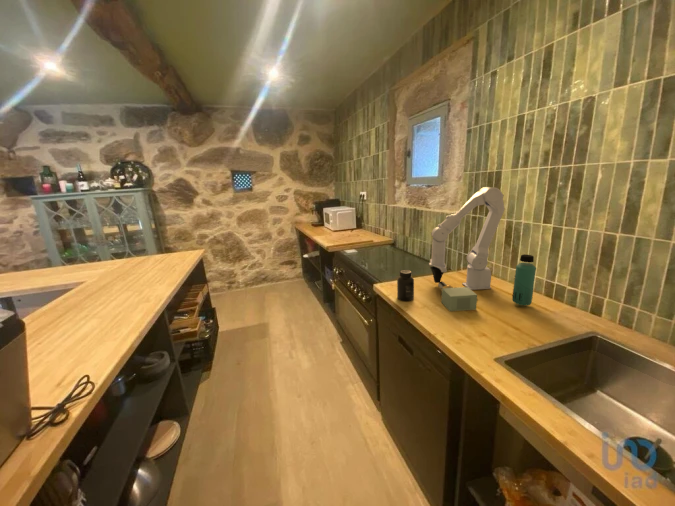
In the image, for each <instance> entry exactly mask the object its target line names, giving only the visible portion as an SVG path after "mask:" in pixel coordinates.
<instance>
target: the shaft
mask: <svg viewBox="0 0 675 506" xmlns="http://www.w3.org/2000/svg"><path fill="white" fill-rule="evenodd" d="M437 287H438V288H440V289H441V290H442V288H454V287H453V286H452V285H451V284H446V282H444V281H440V282H439V283H438V284H437Z"/></svg>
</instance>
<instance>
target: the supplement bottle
mask: <svg viewBox="0 0 675 506" xmlns="http://www.w3.org/2000/svg"><path fill="white" fill-rule="evenodd" d="M412 273H413V272H412V271H411V270H409V269H403V270H402V269H400V270H399V277H398V278H397V279H396V280H397V281H396V283H397V284H396V286H397V287H396V291H397V299H398V300H400V301H402V302H410V301H413V300H414V298H415V280H414V278H413V276H412V275H413V274H412Z"/></svg>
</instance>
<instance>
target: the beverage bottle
mask: <svg viewBox="0 0 675 506" xmlns="http://www.w3.org/2000/svg"><path fill="white" fill-rule="evenodd" d="M534 258H535V257H534V255H532V254H521V255H520V259H519V261H520V262H519V263H518V264H516V266H515V273H514V278H513V280H514V282H513V289H512V294H511V299H512V302H513V303H514V304H517V305H520V306H529V305H532V301H533V296H534V284H535V277H536V270H537V267H536V266H535V265H534V264H533V263H534Z"/></svg>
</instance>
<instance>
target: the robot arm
mask: <svg viewBox="0 0 675 506" xmlns="http://www.w3.org/2000/svg"><path fill="white" fill-rule="evenodd" d="M483 205H485V207H486V208H487V210H488V213H487V215H486V218H485V221H484V223H483V225H482V228H481V230H480V233H479V235H478V239H477V240H476V243H475V245H474V246H473V247H472V248H471V250H470V252H468V253H467V255H466V261H467V262H468V263H467V266H466V267H467V268H466V281H465V282H462V285H463V286H464V287H468V288H469V289H470V290H472V291H474V290H475V291H476V290H490V289H492V287H491V282H492V271H491V269H490V268H489V267H487V266H488V257H489V248H490V245H491V244H492V241H493V239H494V236H495V233H496V231H497V229H498V227H499V224H500V222H501V220H502V217H503V215H504V212H505V203H504V194H503V193H502V191H501V189H499V188H498V187H495V186H494V187H493V186H491V187H490V186H483V187H482V188H480V189H479V190H478V191H476V192H475V193H474V194H473V195H472V196H471V197H470V198H469V199H468V200H467V201H466V202H465V204H463V205H462V206H461V207H460V208H459V210H457V211H456V212H455V213H453V214H452V213H451V214H450V215H446V216H445V219H444V220H443V221H442V222H441V223H439V224H437V227H434V228H433V229H432V231H431V232H430V233H431V234H430V235H431V237H432V243H431V258H430V259H429V262H428V266H430V267H429V268H430V270H431V273H432V277H433V282H434V283H435V284H437V283H438V284H439V282H442V278H443V275H444V273H447V271H448V270H447V268H448V267H447V266H446V263H445V262H446V241H447V239H448V237H449V235H450V234H451V233H452V232H453V231H454V230H455V229H456V228H457V227H458V226H460V225H461V223H462V222H461V221H462V219H463V218H465V216H466V215H468V214H469V213H470V212H471V211H472V210H473V209H475V208H476V207H477V206H483Z"/></svg>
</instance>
